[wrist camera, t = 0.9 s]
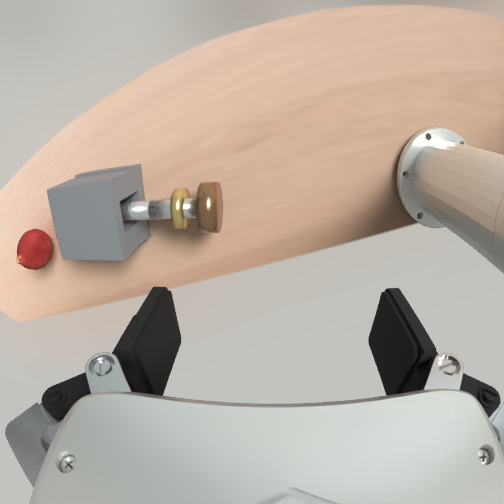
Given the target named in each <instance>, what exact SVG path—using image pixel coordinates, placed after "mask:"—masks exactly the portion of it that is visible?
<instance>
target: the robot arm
mask: <svg viewBox="0 0 504 504" xmlns="http://www.w3.org/2000/svg"><path fill="white" fill-rule="evenodd" d="M425 135H426V138H425ZM403 172H404V175H403ZM397 187H398V193H399V196H400V199H401V202H402V204H403V206H404V208H405V209H406V211H407V212H408V213H409V215H410V216H411V217H412V218H413V219H415V220H416V221H417V222H419V223H420V224H422V225H424V226H427V227H431V228H441V227H447V228H448V229H450V230H451V231H453V232H454V233H455V234H457V235H458V236H459V237H460V238H462V239H463V240H464V241H465V242H467V243H468V244H469V245H470V246H472V247H473V248H474V249H476V250H477V251H478V252H479V253H481V255H483V256H484V257H485V258H487V260H489V261H490V262H491V263H492V264H493V265H494V266H496V267H497V268H498V269H499V270H500V271H501V272H503V273H504V155H502V154H498V153H495V152H491V151H488V150H484V149H480V148H476V147H472V146H468V145H467V143H466V142H465V141H464V140H463V139H462V138H461V136H460V135H458V134H457V133H455V132H454V131H452V130H449V129H447V128H441V127H430V128H427V129H423V130H422V131H420V132H418V133H416V134H415V135H414V136H413V137H412V138H411V139H410V140H409V142H408V143H407V144H406V146H405V147H404V149H403V152H402V154H401V156H400V160H399V163H398V169H397ZM180 344H181V334H180V330H179V325H178V321H177V316H176V312H175V307H174V302H173V298H172V293H171V291H168V289H167V288H166V287H153V288H152V290H151V291H150V293H149V295H148V296H147V298H146V299H145V301H144V303H143V304H142V306H141V308H140V309H139V311H138V313H137V314H136V315H135V316H134V317H133V318H132V320H131V321H130V323H129V325H128V326H127V328H126V330H125V331H124V333H123V335H122V337H121V338H120V340H119V342H118V344H117V345H116V347H115V349H114V351H113V352H112V354H111V353H107V352H102V353H98V354H96V355H94V356H92V357H91V358H90V359H89V360H88V361H87V363H86V366H85V373H83V374H80V375H78V376H76V377H73V378H71V379H68V380H66V381H64V382H61V383H59V384H56V385H54V386H52V387H50V388H48V389H47V390H46V391H45V393H44V394H43V396H42V403H41V404H38V403H35V404H34V405H33V406H32V407H30V408H29V409H27V410H26V411H24V412H23V413H22V414H21V415H19V416H18V417H16V418H15V419H14V420H12V421H11V422H10V423H9V424H8V425H7V427H6V431H5V434H6V438H7V440H8V442H9V444H10V446H11V448H12V450H13V452H14V454H15V456H16V458H17V460H18V462H19V464H20V466H21V467H22V469H23V471H24V472H25V474H26V476H27V478H28V479H29V481H30V482H31V484H32V486H33V487H34V489H33V493H32V496H31V499H30V503H29V504H504V403H503V404H502V405H501V404H500V395H499V393H498V392H497V391H496V390H495V388H493V387H492V386H489V385H487V384H485V383H483V382H481V381H479V380H476V379H475V378H472V377H470V376H468V375H466V374H464V373H463V371H464V366H463V363H462V362H461V360H460V359H459V358H458V357H457V356H455V355H453V354H451V353H441V354H439V355H438V353H437V351H436V348H435V346H434V344H433V342H432V341H431V339H430V337H429V335H428V334H427V332H426V330H425V329H424V327H423V325H422V324H421V322H420V320H419V319H418V317H417V316H416V314H415V313H414V311H413V309H412V308H411V306H410V304H409V303H408V301H407V300H406V298H405V297H404V295H403V294H402V292H401V291H400V289H399V288H389V289H386V290H385V292H382V294H381V297H380V301H379V305H378V309H377V312H376V315H375V319H374V322H373V325H372V329H371V332H370V335H369V346H370V349H371V351H372V354H373V357H374V360H375V363H376V365H377V368H378V371H379V374H380V377H381V380H382V383H383V386H384V389H385V392H386V395H387V396H381V397H374V398H366V399H358V400H348V401H337V402H323V403H304V404H247V403H246V404H245V403H227V402H213V401H202V400H192V399H183V398H175V397H166V396H163V393H164V390H165V387H166V384H167V381H168V378H169V375H170V373H171V370H172V367H173V364H174V361H175V358H176V355H177V352H178V350H179V347H180Z"/></svg>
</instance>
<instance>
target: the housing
mask: <svg viewBox="0 0 504 504" xmlns="http://www.w3.org/2000/svg"><path fill="white" fill-rule="evenodd" d="M47 194H48V199H49V204H50V209H51V213H52V218H53V222H54V226H55V230H56V234H57V238H58V242H59V246H60V249H61V253H62V256H63V259H64V260H108V261H125V260H126V259H127V258H128V257H129V256H130V255H131V254H132V253H133V251H134V250H135V249H136V248H137V247H138V246H139V245H140V244H141V243H142V242H143V241H146V240H147V239H148V238H149V237H150V230H149V224H148V220H128V221H123V220H122V214H121V208H120V203H121V202H134V201H145V196H144V189H143V180H142V172H141V164H138V165H130V166H123V167H116V168H109V169H103V170H97V171H91V172H85V173H81V174H78V175H76V176H75V178H74V179H72V180H69V181H67V182H64V183H62V184H60V185H57V186H55V187H53V188H50V189H48V190H47Z"/></svg>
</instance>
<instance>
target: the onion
mask: <svg viewBox="0 0 504 504" xmlns="http://www.w3.org/2000/svg"><path fill="white" fill-rule="evenodd" d="M52 251H53V248H52V242H51V238H50V237H49V236H48V235H47V234H46V233H45V232H43V231H42V230H39V229H32V230H29V231H27V232H25V233H24V234H23V236H22V237H21V239H20V240H19V243H18V247H17V259H16V261H17V263H18V264H21V265H22V266H24V267H25V268H27V269H34V270H37V269H40V268H43V267H44V266H46V264H47V263H48V261H49V260H50V259H51V256H52Z"/></svg>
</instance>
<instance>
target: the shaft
mask: <svg viewBox="0 0 504 504" xmlns="http://www.w3.org/2000/svg"><path fill="white" fill-rule="evenodd" d="M120 208H121V214H122V220H123V221H128V220H150V219H171V220H172V223H173V225H174V227H175V228H188V227H189V225H190V221H191V218H197V222H198V226H199V229H200V231H201V233H219V232H220V230H221V226H222V216H223V202H222V191H221V186H220V183H219V182H204V183H200V185H199V187H198V191H197V198H191V197H190V193H189V191H188V189H186V188H184V189H175V190H174V191H173V193H172V196H171V199H164V200H148V201H134V202H121V203H120Z"/></svg>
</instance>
